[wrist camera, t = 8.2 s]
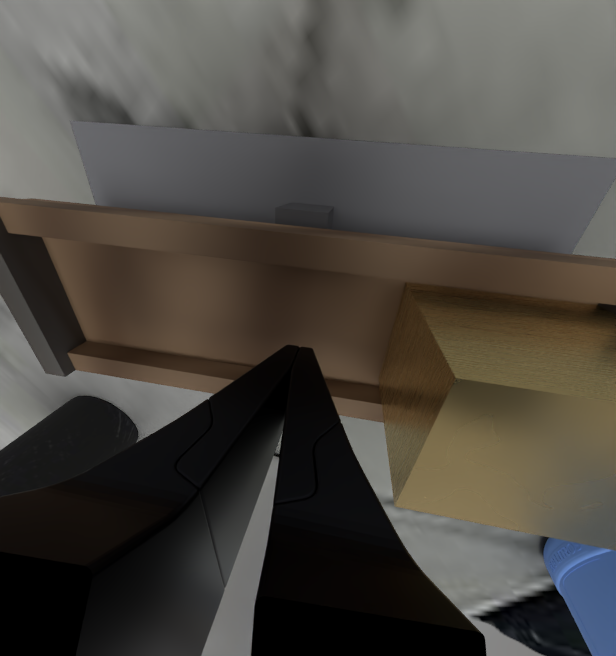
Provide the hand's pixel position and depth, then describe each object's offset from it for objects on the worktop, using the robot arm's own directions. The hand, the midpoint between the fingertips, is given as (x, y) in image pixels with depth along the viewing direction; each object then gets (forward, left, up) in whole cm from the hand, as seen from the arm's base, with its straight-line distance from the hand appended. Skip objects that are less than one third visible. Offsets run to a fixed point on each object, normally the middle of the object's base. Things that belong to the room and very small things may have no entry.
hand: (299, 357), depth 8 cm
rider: (-6, 0, -2) cm, 7 cm away
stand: (+1, 0, -7) cm, 7 cm away
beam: (+1, 0, -3) cm, 3 cm away
